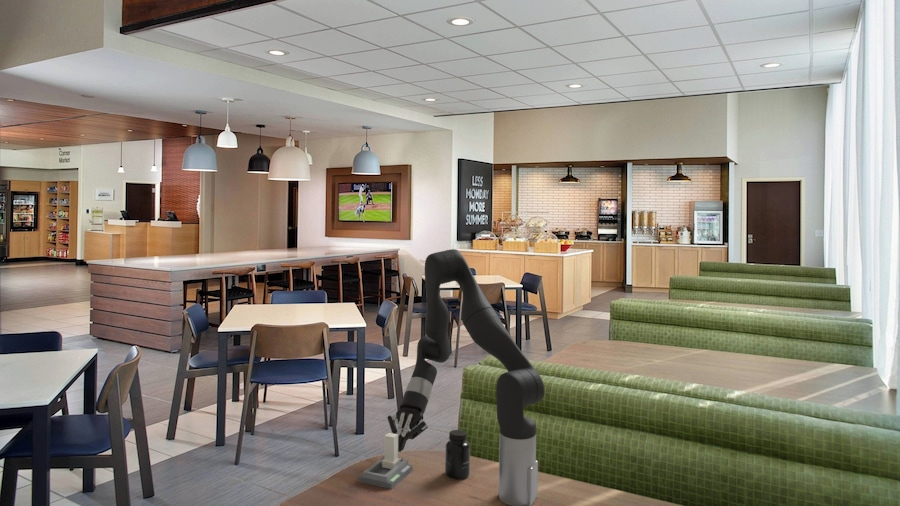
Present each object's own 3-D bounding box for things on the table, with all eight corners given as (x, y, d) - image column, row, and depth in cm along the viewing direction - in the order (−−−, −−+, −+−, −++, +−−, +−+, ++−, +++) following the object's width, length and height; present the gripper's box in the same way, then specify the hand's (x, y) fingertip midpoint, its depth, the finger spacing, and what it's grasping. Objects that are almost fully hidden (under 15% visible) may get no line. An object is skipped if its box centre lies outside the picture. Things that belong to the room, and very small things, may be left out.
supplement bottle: (470, 480, 166) (470, 437, 164) (444, 480, 166) (445, 437, 165) (469, 469, 172) (470, 428, 171) (445, 468, 173) (445, 427, 171)
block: (400, 463, 171) (400, 433, 171) (393, 469, 168) (393, 438, 167) (388, 461, 173) (388, 431, 172) (381, 467, 169) (381, 436, 168)
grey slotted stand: (412, 470, 171) (412, 460, 171) (391, 489, 160) (391, 478, 160) (381, 464, 175) (381, 454, 175) (358, 481, 164) (358, 471, 164)
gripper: (393, 386, 183) (372, 441, 173) (432, 392, 178) (413, 449, 168) (401, 399, 188) (381, 452, 178) (440, 405, 183) (422, 460, 173)
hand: (397, 450), depth 173 cm, fingers closed
